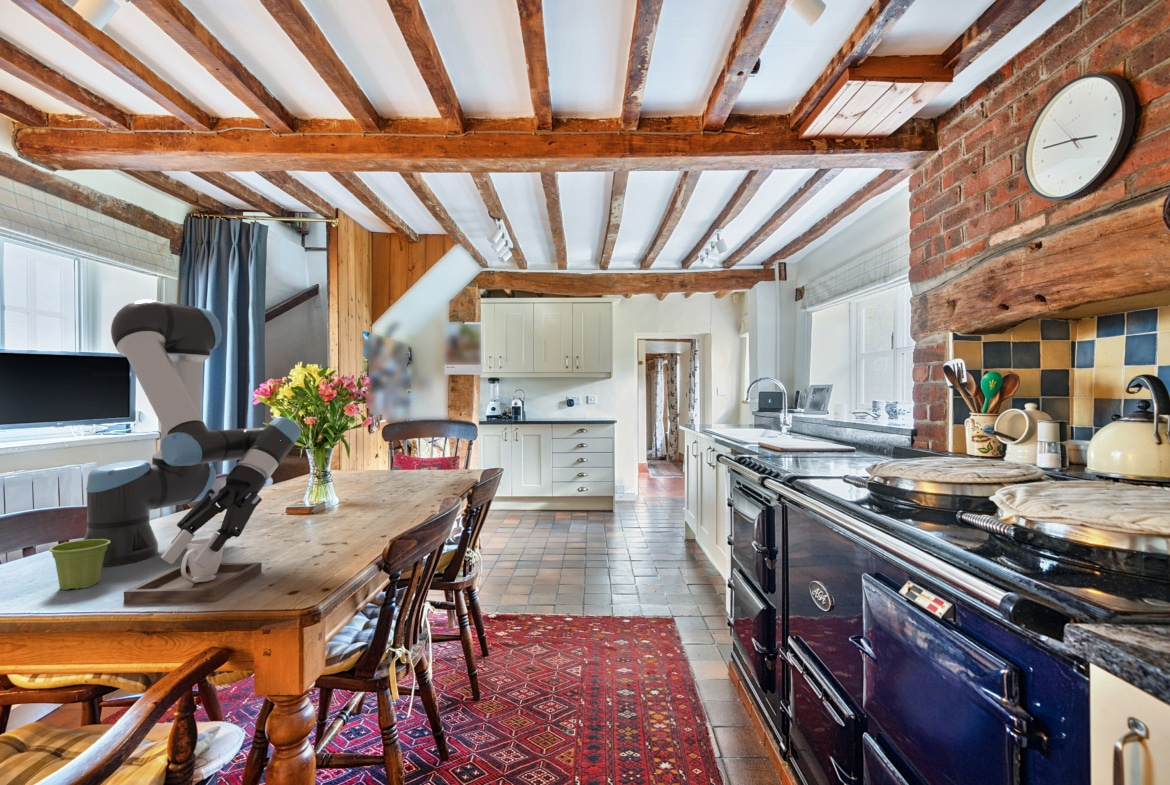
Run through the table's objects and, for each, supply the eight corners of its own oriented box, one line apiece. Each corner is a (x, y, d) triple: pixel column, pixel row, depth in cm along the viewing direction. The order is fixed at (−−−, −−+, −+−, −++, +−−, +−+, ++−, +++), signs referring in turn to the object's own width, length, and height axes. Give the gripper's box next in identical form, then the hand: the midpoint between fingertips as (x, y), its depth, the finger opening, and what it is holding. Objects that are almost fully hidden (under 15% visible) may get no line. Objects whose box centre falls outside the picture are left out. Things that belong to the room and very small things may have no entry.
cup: (231, 575, 117) (233, 538, 118) (198, 588, 107) (201, 547, 108) (199, 574, 117) (201, 537, 118) (163, 587, 107) (166, 547, 108)
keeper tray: (123, 603, 103) (123, 591, 103) (183, 573, 120) (183, 563, 120) (215, 601, 104) (215, 589, 104) (261, 572, 121) (261, 562, 121)
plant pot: (95, 575, 119) (95, 536, 119) (119, 581, 115) (119, 541, 115) (39, 589, 110) (39, 547, 110) (64, 596, 107) (64, 553, 107)
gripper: (296, 485, 124) (233, 576, 109) (227, 480, 130) (158, 566, 114) (278, 465, 119) (209, 558, 103) (206, 461, 125) (131, 549, 109)
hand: (182, 562), depth 109 cm, fingers open, 8 cm apart
